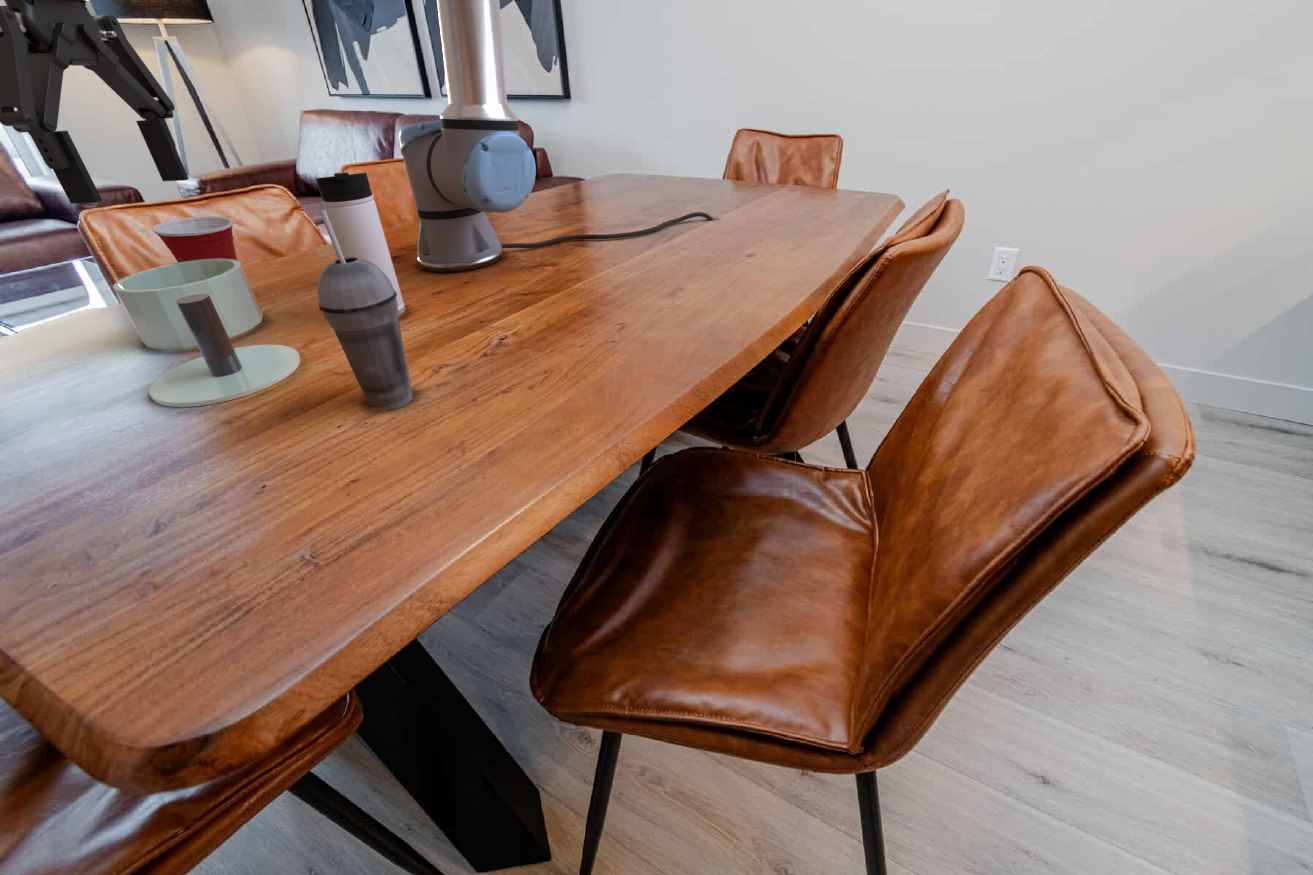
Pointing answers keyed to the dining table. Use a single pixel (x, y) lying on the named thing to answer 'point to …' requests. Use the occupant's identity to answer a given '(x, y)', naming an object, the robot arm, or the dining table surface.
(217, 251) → the plastic cup
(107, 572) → the dining table surface
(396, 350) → the beverage cup
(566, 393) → the dining table surface
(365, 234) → the travel mug
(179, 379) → the lid
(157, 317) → the bowl
